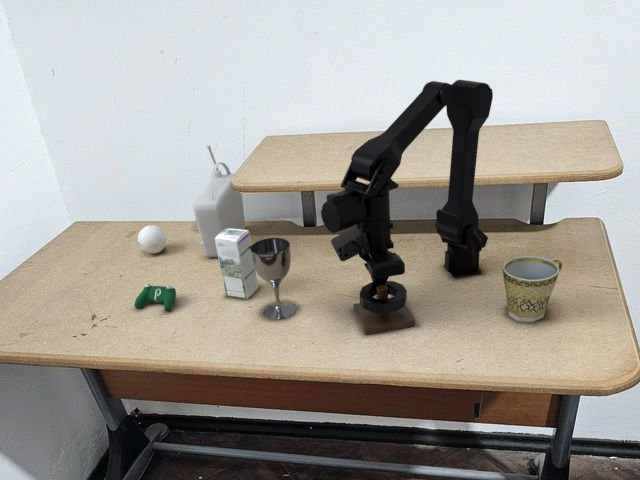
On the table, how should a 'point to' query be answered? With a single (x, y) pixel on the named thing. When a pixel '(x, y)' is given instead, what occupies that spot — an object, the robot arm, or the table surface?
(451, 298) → the table surface
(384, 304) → the ring
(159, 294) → the gaming controller
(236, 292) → the syrup box
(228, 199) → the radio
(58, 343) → the table surface
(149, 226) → the white light bulb
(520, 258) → the ceramic cup
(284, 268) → the silver metal goblet
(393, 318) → the peg stand
